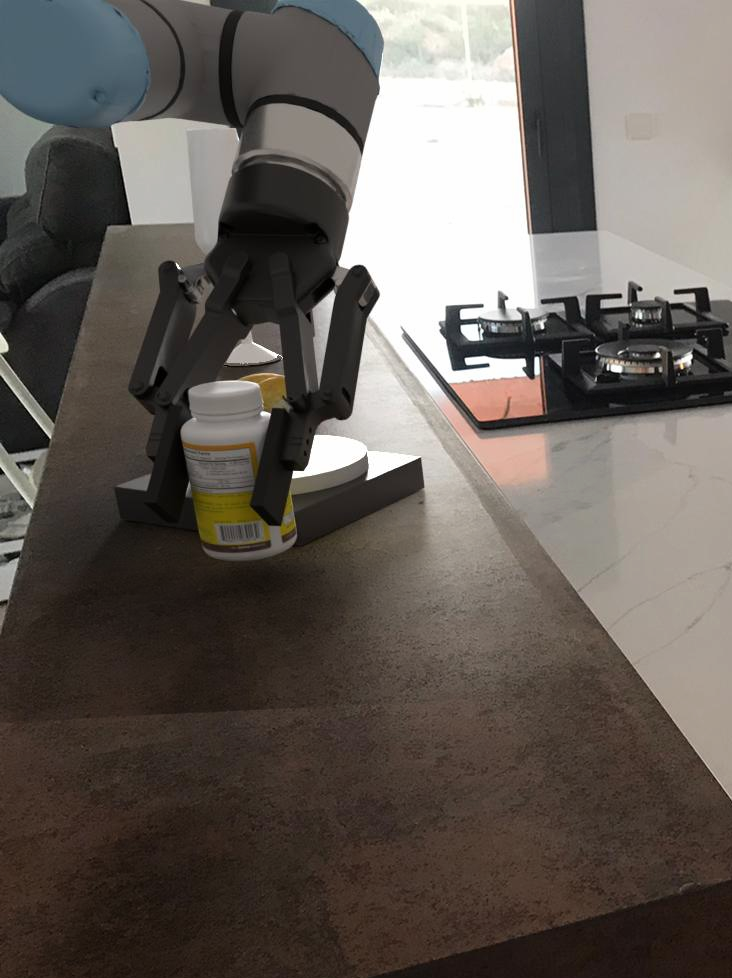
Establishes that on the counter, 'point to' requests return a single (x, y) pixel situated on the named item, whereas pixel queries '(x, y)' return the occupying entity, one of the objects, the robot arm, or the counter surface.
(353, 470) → the scale
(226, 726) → the counter surface
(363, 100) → the robot arm
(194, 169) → the champagne flute
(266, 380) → the bread roll
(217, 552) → the supplement bottle
